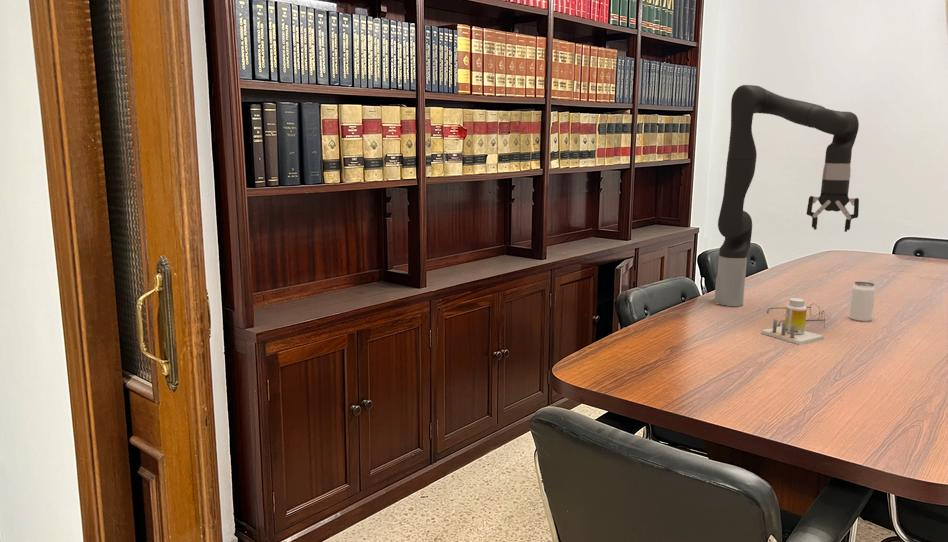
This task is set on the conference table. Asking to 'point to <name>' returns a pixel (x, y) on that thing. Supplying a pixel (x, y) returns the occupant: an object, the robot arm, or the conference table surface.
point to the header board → (795, 338)
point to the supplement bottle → (796, 315)
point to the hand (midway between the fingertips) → (830, 230)
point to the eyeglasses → (806, 320)
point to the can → (862, 301)
